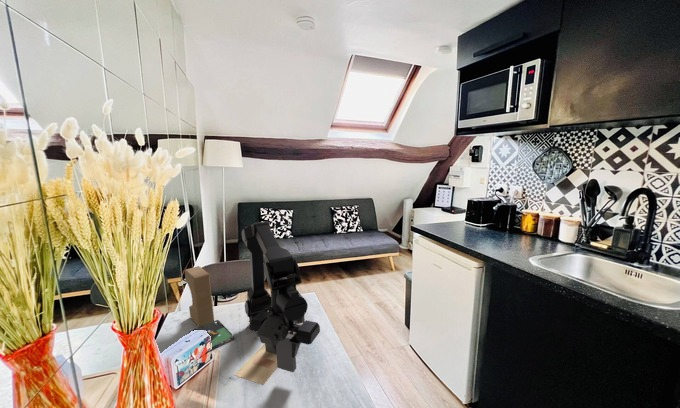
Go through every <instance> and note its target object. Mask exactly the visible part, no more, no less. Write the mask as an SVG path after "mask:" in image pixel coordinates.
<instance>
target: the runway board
mask: <svg viewBox="0 0 680 408" xmlns="http://www.w3.org/2000/svg"><path fill="white" fill-rule="evenodd" d="M277 369H278V368H277V355H276V354H274V353H270V352H266V349H265V343H263V345H262V346H261V347H260V348H259V349H258V350H257V351H256V352H255V353H254V354H253V355H252V356H251V357H250V358H249V359H248V360H247V361H246V362H245V363H244V365H242V366H241V367H240V368H239V370H238V371H236V372H235V374H234V376H236V377H239V378H241V379H244V380H248V381H251V382H254V383H257V384H260V385H262V386H264V385H265V384H266V382H267V381H268V380H269V379H270V378H271V376H272V375H273V374H274V373H275V371H277Z"/></svg>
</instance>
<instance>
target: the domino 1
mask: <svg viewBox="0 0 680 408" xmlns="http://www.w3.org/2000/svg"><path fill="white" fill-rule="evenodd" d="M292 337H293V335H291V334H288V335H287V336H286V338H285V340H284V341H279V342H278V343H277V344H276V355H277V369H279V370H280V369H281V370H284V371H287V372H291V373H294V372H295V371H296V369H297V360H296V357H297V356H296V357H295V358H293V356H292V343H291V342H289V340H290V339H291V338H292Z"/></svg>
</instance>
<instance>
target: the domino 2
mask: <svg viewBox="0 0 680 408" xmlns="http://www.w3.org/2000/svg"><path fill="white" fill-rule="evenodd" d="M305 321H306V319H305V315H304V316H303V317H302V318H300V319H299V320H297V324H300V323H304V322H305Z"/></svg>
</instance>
